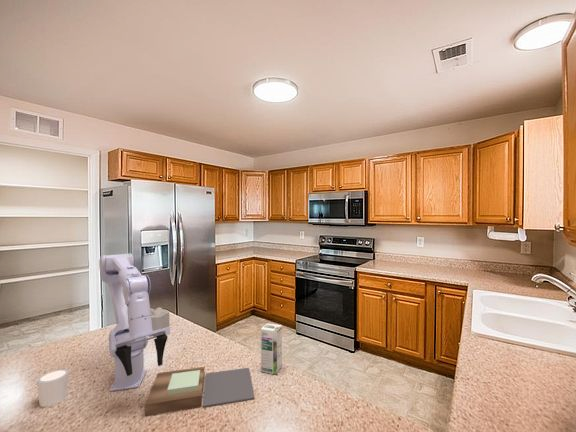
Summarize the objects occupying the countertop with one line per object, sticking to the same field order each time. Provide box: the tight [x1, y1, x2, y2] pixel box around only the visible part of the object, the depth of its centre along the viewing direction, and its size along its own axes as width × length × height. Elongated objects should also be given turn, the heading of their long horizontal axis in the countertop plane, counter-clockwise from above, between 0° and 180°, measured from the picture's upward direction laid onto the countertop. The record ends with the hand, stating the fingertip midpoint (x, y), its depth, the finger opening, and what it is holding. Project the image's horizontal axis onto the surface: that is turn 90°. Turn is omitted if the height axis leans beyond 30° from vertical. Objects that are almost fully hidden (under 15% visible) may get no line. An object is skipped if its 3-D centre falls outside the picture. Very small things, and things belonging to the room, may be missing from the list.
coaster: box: [167, 370, 200, 395], centre depth 78 cm, size 8×8×2 cm
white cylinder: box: [36, 368, 70, 408], centre depth 76 cm, size 7×7×7 cm
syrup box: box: [260, 323, 283, 376], centre depth 92 cm, size 6×6×14 cm
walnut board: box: [144, 366, 205, 417], centre depth 79 cm, size 15×14×3 cm
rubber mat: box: [202, 367, 256, 409], centre depth 82 cm, size 16×14×1 cm
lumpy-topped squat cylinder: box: [150, 307, 170, 331], centre depth 127 cm, size 10×13×9 cm
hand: (145, 370), depth 73 cm, fingers open, 7 cm apart
